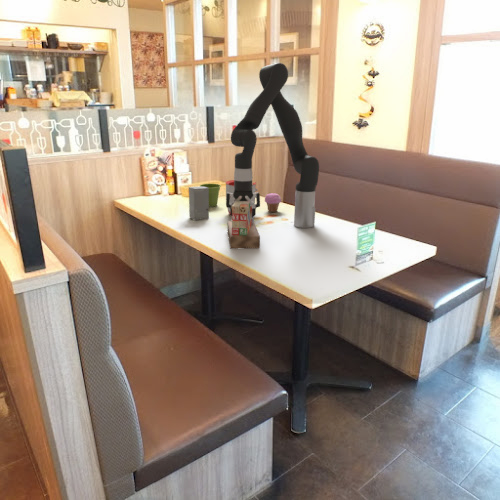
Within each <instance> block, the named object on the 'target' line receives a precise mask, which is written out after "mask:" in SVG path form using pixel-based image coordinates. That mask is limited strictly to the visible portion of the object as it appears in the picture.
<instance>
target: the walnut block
mask: <svg viewBox="0 0 500 500" xmlns="http://www.w3.org/2000/svg"><path fill="white" fill-rule="evenodd" d="M226 224H227V225H226V226H227V227H226V228H227V230H226V231H228V232H227V236H228V237H229V238H228V242H229V243H228V244H229V248H230V249H231V250H233V249H234V250H237V249H238V248H244V249H260V247H261V246H260V245H261V236H260V234H259V230H258V228H257V225H256V223H255V220H253V223H252V225H251V227H250V230H249V232H248V234H247V235H232V220H227V223H226ZM238 250H239V249H238Z"/></svg>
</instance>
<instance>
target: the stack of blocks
mask: <svg viewBox="0 0 500 500" xmlns="http://www.w3.org/2000/svg"><path fill="white" fill-rule="evenodd" d="M252 208H253V207H252V206H251V205H250V201H235V203H234V204H233V205H232V216H231V221H232V235H247V234H248V232H249V230H250V227H251V225H252V223H253V221H254V217H252Z"/></svg>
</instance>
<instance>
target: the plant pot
mask: <svg viewBox="0 0 500 500" xmlns="http://www.w3.org/2000/svg"><path fill="white" fill-rule="evenodd" d="M200 186H204V187H207V188H209V207H216V206H218V203H219V202H218V201H219V193H220V189H221V186H222V184H219V183H202V184H199V187H200Z"/></svg>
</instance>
